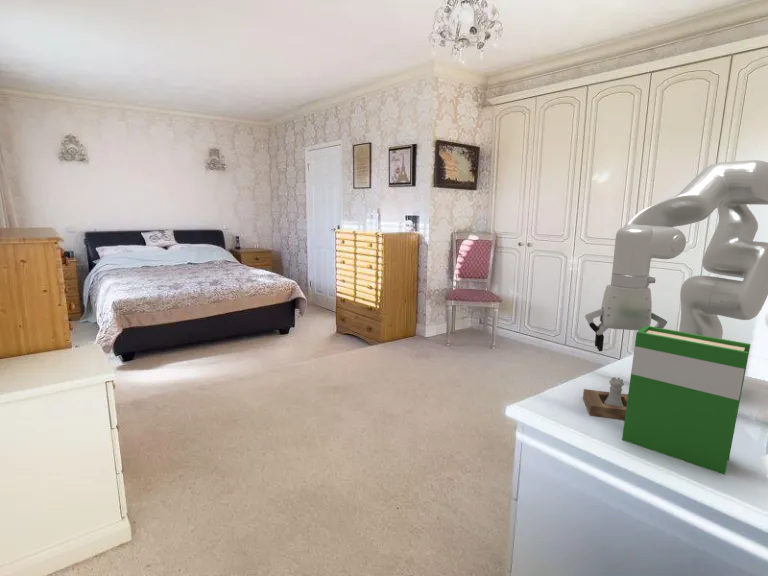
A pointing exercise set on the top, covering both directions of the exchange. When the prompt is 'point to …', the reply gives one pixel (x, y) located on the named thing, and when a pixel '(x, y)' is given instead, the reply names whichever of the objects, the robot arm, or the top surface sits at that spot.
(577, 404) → the top surface
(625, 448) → the top surface
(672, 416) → the hardback book
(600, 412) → the socket board
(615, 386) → the rook chess piece
